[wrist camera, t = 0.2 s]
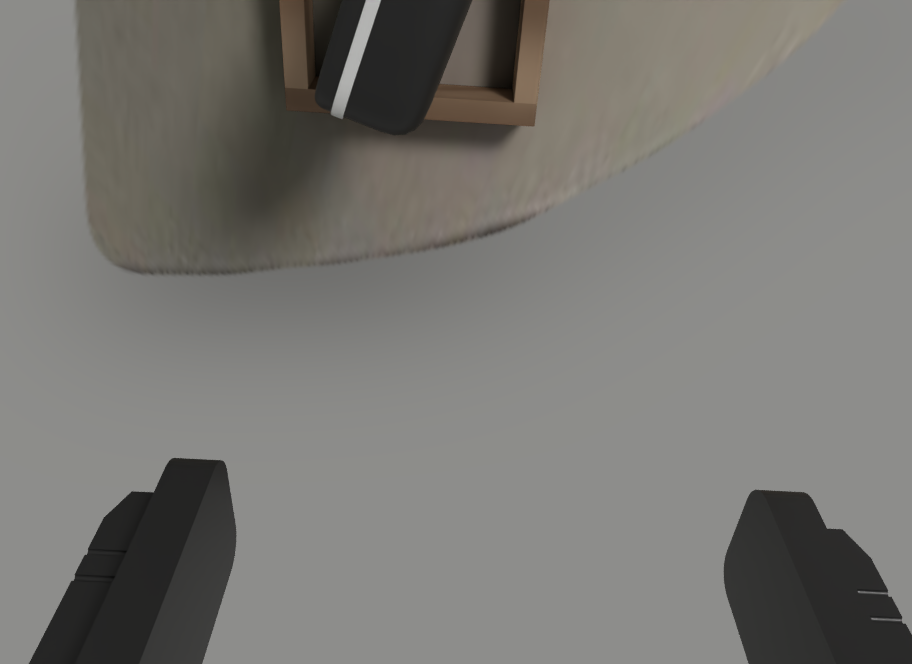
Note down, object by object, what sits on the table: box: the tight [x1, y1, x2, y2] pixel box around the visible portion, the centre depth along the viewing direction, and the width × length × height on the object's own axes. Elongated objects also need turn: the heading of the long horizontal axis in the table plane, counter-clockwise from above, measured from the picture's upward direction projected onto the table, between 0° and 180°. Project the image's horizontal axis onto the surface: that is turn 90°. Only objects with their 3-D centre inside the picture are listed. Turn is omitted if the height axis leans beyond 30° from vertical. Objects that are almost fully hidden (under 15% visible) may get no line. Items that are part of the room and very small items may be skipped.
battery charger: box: [315, 0, 472, 135], centre depth 28 cm, size 7×4×11 cm, turn 158°
